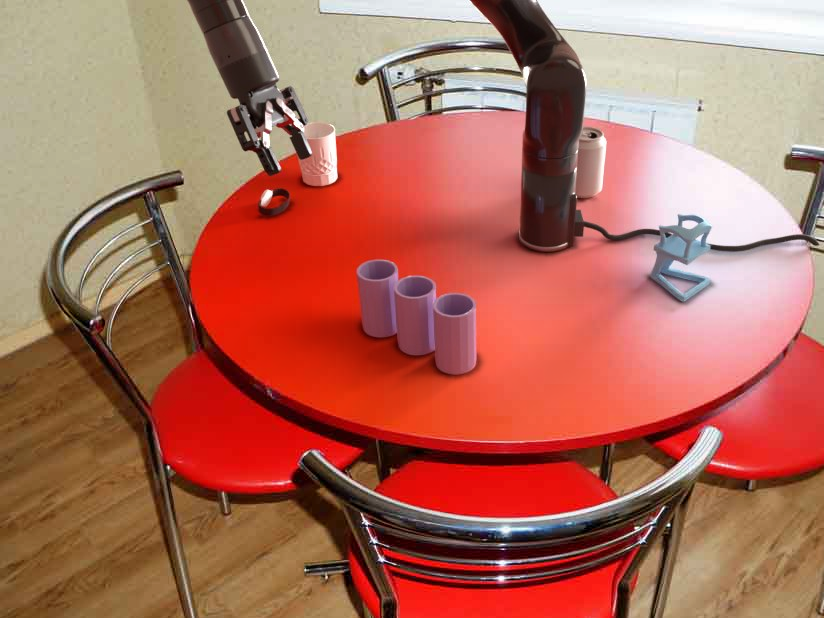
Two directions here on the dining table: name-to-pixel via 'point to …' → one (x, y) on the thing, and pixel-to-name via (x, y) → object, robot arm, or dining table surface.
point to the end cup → (378, 297)
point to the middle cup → (415, 314)
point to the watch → (267, 198)
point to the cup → (455, 333)
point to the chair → (681, 253)
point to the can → (590, 162)
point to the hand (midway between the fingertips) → (291, 165)
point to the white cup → (320, 155)
